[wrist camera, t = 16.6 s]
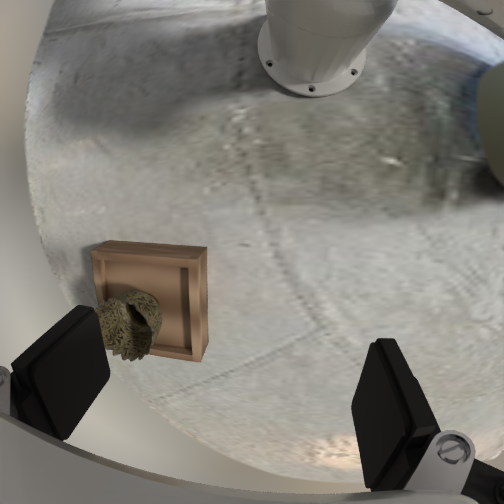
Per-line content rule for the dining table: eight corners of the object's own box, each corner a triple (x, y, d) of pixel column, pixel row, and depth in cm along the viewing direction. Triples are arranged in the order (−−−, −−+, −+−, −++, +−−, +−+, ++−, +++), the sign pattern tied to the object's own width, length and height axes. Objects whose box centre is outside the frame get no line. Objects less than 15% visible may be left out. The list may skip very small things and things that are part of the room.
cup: (119, 276, 38) (85, 298, 30) (171, 275, 37) (144, 300, 29) (129, 329, 39) (101, 358, 31) (179, 331, 38) (157, 364, 31)
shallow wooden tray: (111, 239, 40) (90, 251, 35) (208, 245, 39) (196, 259, 34) (122, 326, 45) (106, 345, 39) (209, 339, 44) (200, 362, 38)
